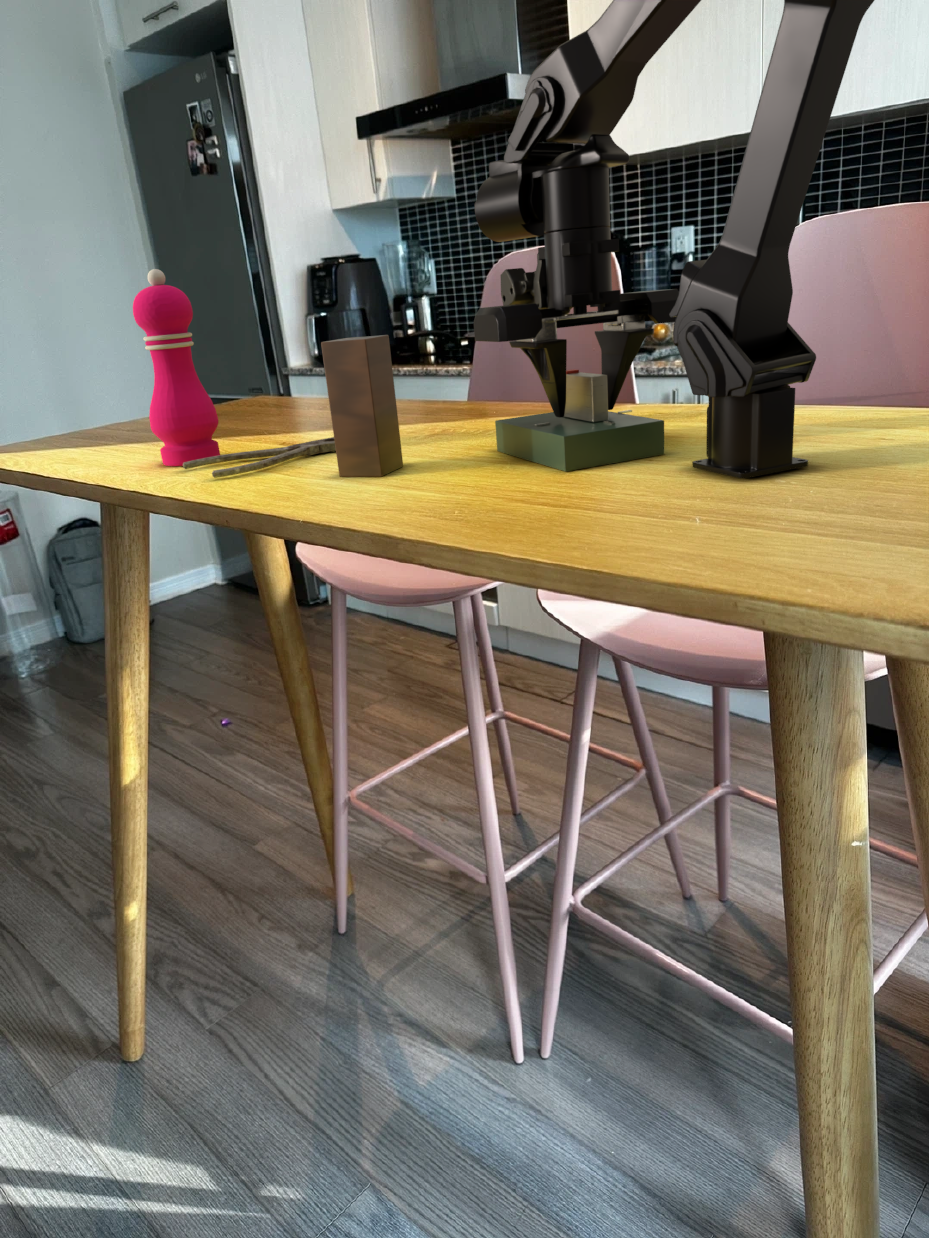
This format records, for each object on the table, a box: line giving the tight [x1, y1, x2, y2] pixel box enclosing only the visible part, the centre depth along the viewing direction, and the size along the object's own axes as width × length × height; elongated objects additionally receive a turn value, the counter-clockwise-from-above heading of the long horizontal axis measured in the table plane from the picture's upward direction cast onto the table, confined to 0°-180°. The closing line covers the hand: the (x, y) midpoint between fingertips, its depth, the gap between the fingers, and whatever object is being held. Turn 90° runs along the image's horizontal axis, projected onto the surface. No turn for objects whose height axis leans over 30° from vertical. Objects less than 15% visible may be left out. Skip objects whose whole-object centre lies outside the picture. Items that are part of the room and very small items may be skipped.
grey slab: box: [564, 368, 609, 422], centre depth 81 cm, size 6×2×4 cm, turn 23°
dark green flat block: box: [494, 409, 665, 472], centre depth 83 cm, size 14×11×3 cm
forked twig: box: [182, 436, 336, 479], centre depth 95 cm, size 10×1×20 cm
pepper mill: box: [132, 268, 221, 467], centre depth 95 cm, size 7×7×20 cm
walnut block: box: [320, 334, 404, 478], centre depth 81 cm, size 4×4×12 cm
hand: (584, 413), depth 82 cm, fingers open, 5 cm apart
